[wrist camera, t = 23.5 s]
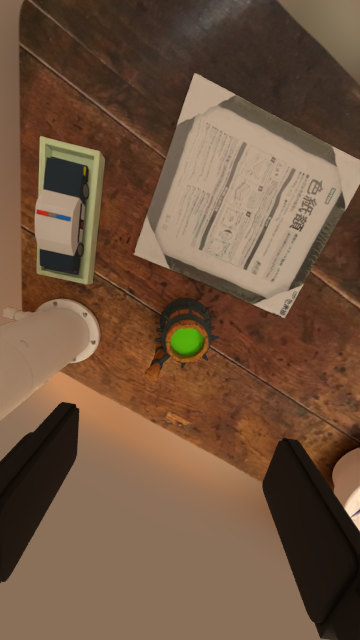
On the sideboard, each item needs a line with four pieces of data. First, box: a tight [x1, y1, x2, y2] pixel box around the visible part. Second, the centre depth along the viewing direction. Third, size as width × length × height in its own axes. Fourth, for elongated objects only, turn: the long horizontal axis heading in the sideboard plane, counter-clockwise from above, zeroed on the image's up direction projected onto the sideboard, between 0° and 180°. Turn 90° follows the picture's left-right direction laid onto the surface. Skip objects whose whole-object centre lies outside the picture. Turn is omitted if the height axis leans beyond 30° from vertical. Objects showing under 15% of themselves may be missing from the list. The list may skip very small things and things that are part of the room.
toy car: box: [35, 156, 89, 275], centre depth 29 cm, size 5×16×5 cm, turn 168°
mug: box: [145, 298, 219, 381], centre depth 31 cm, size 13×10×12 cm
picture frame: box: [134, 73, 360, 318], centre depth 31 cm, size 26×1×30 cm
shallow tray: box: [36, 136, 105, 285], centre depth 31 cm, size 9×20×2 cm, turn 168°
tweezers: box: [350, 509, 360, 521], centre depth 37 cm, size 2×12×1 cm, turn 144°
